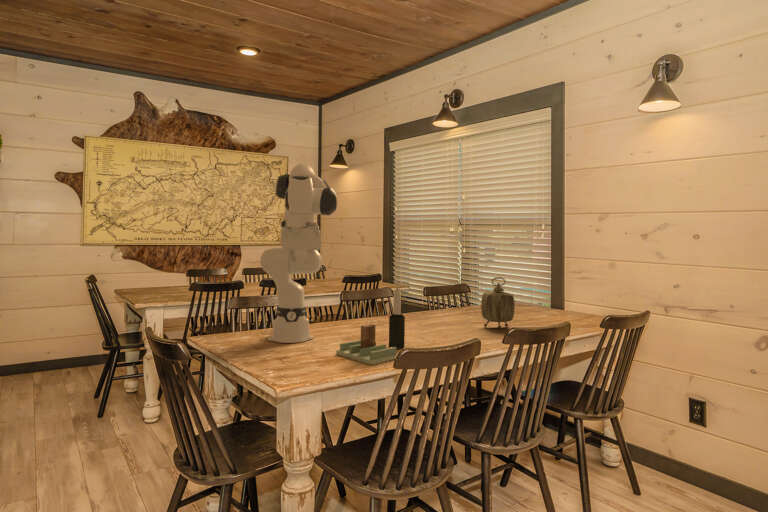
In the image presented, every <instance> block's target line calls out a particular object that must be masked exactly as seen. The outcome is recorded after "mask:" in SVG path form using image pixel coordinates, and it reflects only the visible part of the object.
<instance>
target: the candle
mask: <svg viewBox="0 0 768 512" xmlns="http://www.w3.org/2000/svg"><path fill="white" fill-rule="evenodd" d="M401 309H402V293H401V292H400V289H399V285H398V284H397V285H396V288H395V291H394V292H393V313H391V314H390V315H388V316H389V317H388V348H389V347H397V348H400V349H402V348H401V347H404V348H405V334H406V332H405V331H406V330H405V328H406V326H405V325H406V324H405V322H406V321H405V320H406V319H405V318H406V317H405V315H404V314H403V313H401V311H402V310H401Z"/></svg>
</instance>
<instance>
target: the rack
mask: <svg viewBox="0 0 768 512" xmlns="http://www.w3.org/2000/svg"><path fill="white" fill-rule="evenodd" d="M335 351H336V353H335V354H336V355H338V356H342V357H345V358H347V357H348V359H350V358H351V359H350V360H354V359H355V360H354V361H357V360H358V361H357V362H360V361H361V362H360V363H363V362H364V364H368V365H370V364H371V365H370V366H373V365H372V364H374V365H378V364H381V362H382V363H385V361H387V362H390V361H389V360H391V361H394V360H393V359H395V357H396V355H397V354H398V349H397V347H392V348H389V347H388V348H387V344H383V343H382V344H378V345H377V341H375V346H373V347H367V348H362V349H361V339H358V340H353V341H346V342H342V343H339V349H336V350H335ZM395 360H396V359H395ZM377 363H378V364H377Z"/></svg>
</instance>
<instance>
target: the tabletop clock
mask: <svg viewBox="0 0 768 512" xmlns="http://www.w3.org/2000/svg"><path fill="white" fill-rule="evenodd" d="M496 279H498V280H502V281H504V283H502V284H500V283H499V282H497V284H496V283H494V280H496ZM491 280H492V281H491V284H492V285H493V286H495V287H494V288H493V289H492V290H491V291H490V290H489V291H485V292H483V293H482V297H481V304H480V308H481V311H480V313H481V315H482V318H483V319H484V320H487V321H486V323H484V324H483V327H484V326H487V327H488V324H489V323H490V322H492V323H498V325H497V328H501V329H502V326H501V323H504V327H505V326H507V327H508V326H509V324H508V322H511V321H513V319H514V316H515V309H516V306H515V305H516V304H515V297H514V295H513V294H511V293H510V292H505V291H504V288H503V287H502V286H504V285H505V284H506V280H505V278H504V277H501V276H499V277H494V278H493V279H491Z"/></svg>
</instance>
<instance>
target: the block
mask: <svg viewBox="0 0 768 512" xmlns="http://www.w3.org/2000/svg"><path fill="white" fill-rule="evenodd" d="M360 340H361V349H362V348H367V347H373V346H375V342H376V324H371V323H370V324H364V325H360Z"/></svg>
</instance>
